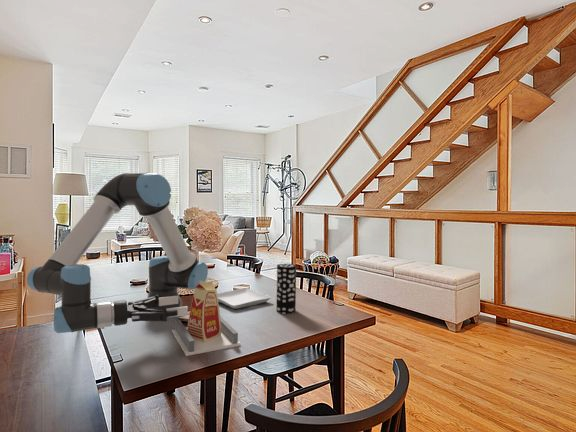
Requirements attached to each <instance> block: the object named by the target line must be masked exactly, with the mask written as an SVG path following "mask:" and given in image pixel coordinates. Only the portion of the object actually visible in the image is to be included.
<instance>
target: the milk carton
mask: <svg viewBox="0 0 576 432" xmlns="http://www.w3.org/2000/svg"><path fill="white" fill-rule="evenodd" d="M217 294H218V292H217V289H216V288H215V285H214V284H213V280H209V281H207V280H206V281H199V284H198V285H197V286H196V287H195V290H193V296H192V301H191V304H190V310H189V315H188V316H189V317H188V321H187V327H188V328H187V331H188V332H189V334H190V335H191V337H192V338H193V339H195V340H198V341H201V342H204V343H205V342H207V341H210V340H212V339H214V338H216V337H218V336H220V335H221V322H220V316H221V314H220V313H221V312H220V304H219V302H218V297H217Z"/></svg>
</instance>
